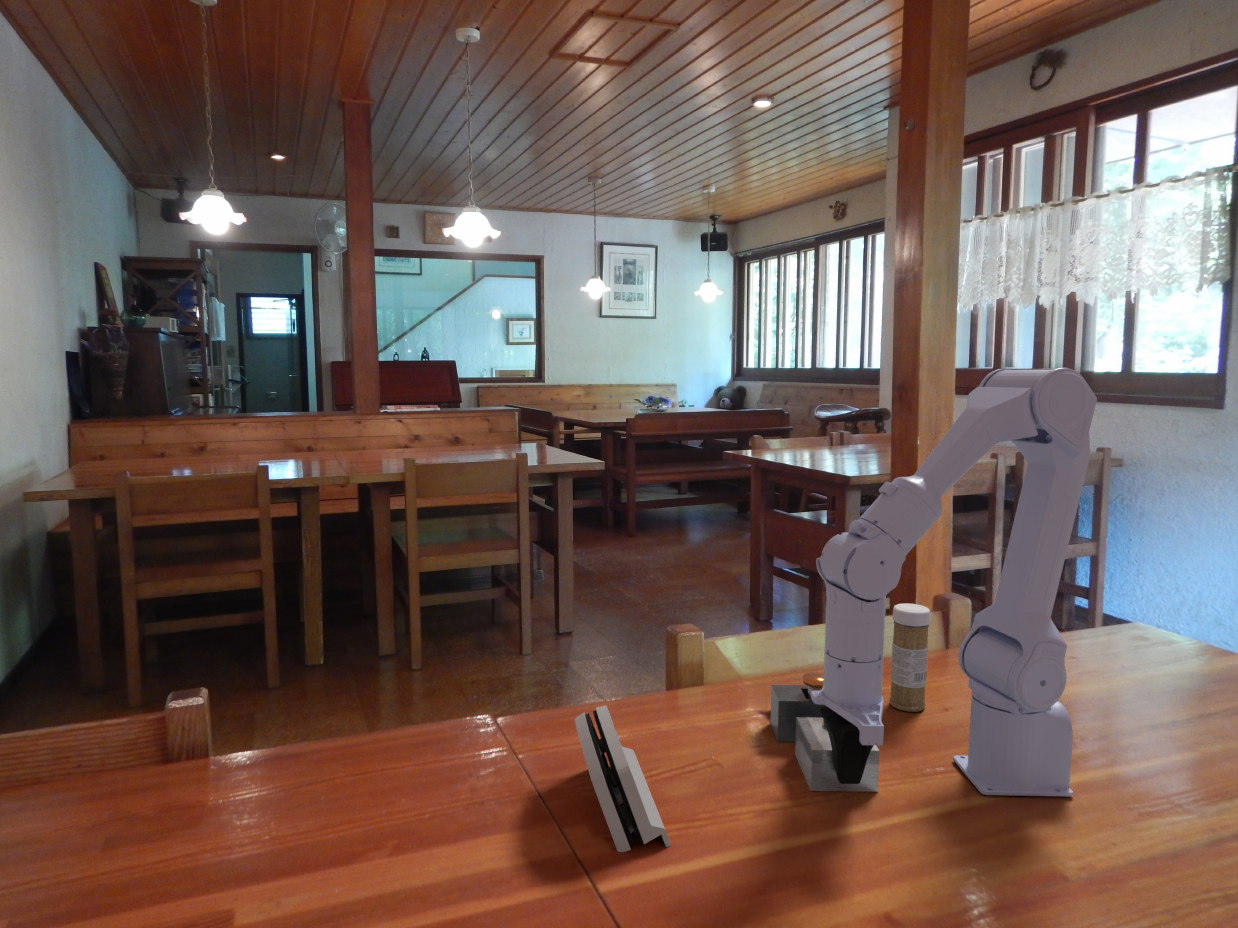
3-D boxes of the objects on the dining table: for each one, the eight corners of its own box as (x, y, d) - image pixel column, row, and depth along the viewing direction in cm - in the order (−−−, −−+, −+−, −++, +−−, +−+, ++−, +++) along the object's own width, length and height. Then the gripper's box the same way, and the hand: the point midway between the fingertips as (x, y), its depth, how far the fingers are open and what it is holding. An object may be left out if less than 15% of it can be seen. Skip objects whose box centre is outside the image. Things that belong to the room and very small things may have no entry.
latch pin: (833, 718, 95) (834, 683, 95) (804, 718, 95) (805, 682, 95) (826, 707, 99) (827, 672, 98) (799, 706, 99) (800, 672, 98)
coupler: (873, 760, 90) (875, 718, 90) (784, 759, 91) (785, 716, 90) (839, 707, 105) (841, 670, 104) (763, 705, 105) (764, 669, 105)
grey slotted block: (672, 848, 73) (637, 752, 72) (624, 869, 73) (587, 773, 71) (637, 761, 90) (608, 682, 88) (598, 778, 89) (568, 699, 88)
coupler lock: (877, 791, 84) (879, 745, 83) (810, 790, 84) (812, 744, 83) (856, 755, 92) (858, 712, 91) (795, 754, 92) (796, 712, 91)
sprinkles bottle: (912, 697, 108) (917, 601, 107) (932, 711, 104) (938, 610, 102) (882, 700, 107) (886, 603, 106) (901, 714, 103) (905, 613, 101)
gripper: (799, 629, 88) (795, 747, 89) (831, 679, 74) (826, 818, 75) (863, 630, 88) (858, 748, 89) (908, 680, 73) (902, 820, 75)
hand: (848, 780), depth 82 cm, fingers closed
